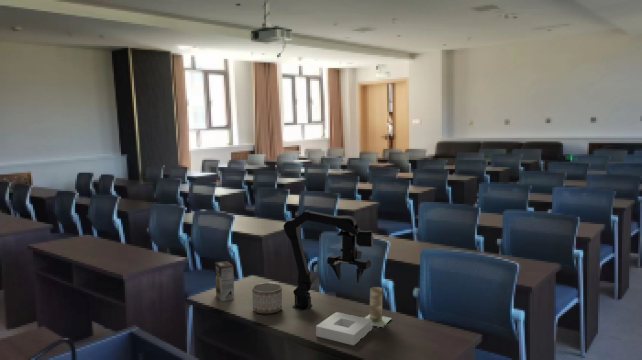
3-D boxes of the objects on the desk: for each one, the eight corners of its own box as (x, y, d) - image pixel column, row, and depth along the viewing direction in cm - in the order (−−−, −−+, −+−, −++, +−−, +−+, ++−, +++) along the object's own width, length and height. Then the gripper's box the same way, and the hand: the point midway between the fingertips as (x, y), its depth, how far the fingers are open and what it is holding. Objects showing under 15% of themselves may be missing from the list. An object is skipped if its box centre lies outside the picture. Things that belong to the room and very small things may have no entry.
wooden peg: (370, 322, 198) (370, 291, 196) (369, 317, 203) (369, 286, 201) (382, 322, 198) (383, 291, 196) (381, 317, 203) (381, 287, 201)
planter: (269, 318, 204) (268, 294, 203) (246, 311, 211) (246, 288, 210) (287, 308, 215) (287, 285, 214) (265, 302, 222) (265, 280, 221)
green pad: (359, 323, 198) (359, 321, 198) (369, 314, 207) (369, 313, 207) (382, 328, 193) (382, 326, 193) (391, 319, 202) (392, 318, 202)
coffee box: (215, 295, 232) (214, 262, 230) (228, 293, 235) (227, 260, 233) (221, 301, 224) (220, 267, 222) (234, 299, 227) (233, 265, 225)
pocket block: (316, 336, 187) (316, 326, 186) (336, 321, 200) (336, 312, 200) (353, 345, 179) (353, 335, 178) (372, 329, 192) (372, 319, 192)
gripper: (376, 244, 211) (376, 279, 213) (338, 239, 220) (338, 273, 222) (365, 250, 201) (365, 286, 203) (326, 244, 211) (326, 279, 213)
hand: (348, 281), depth 210 cm, fingers open, 9 cm apart
